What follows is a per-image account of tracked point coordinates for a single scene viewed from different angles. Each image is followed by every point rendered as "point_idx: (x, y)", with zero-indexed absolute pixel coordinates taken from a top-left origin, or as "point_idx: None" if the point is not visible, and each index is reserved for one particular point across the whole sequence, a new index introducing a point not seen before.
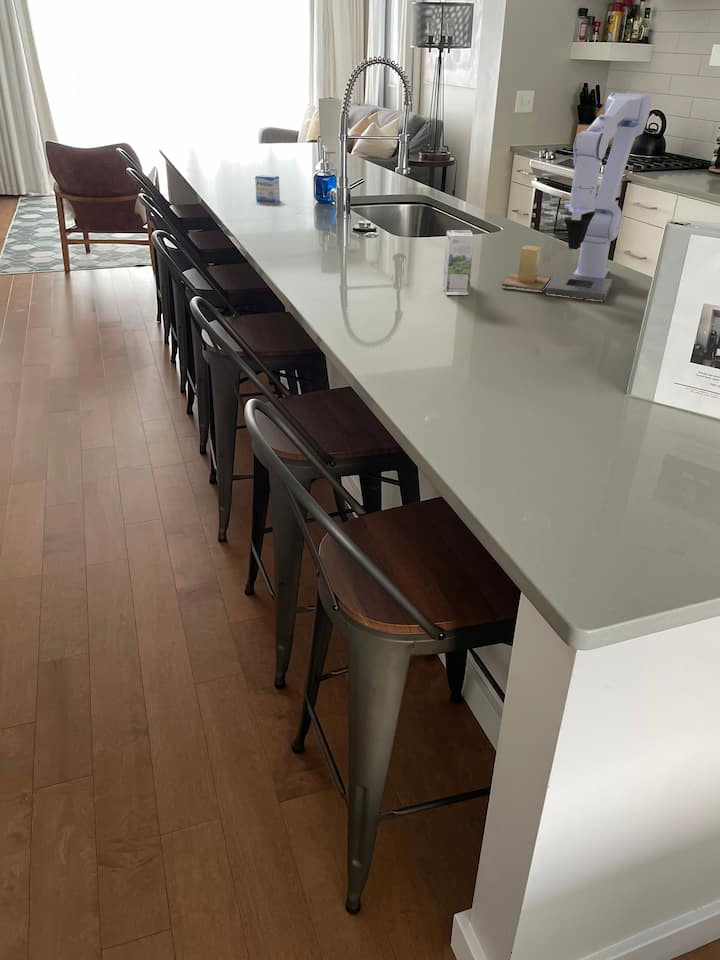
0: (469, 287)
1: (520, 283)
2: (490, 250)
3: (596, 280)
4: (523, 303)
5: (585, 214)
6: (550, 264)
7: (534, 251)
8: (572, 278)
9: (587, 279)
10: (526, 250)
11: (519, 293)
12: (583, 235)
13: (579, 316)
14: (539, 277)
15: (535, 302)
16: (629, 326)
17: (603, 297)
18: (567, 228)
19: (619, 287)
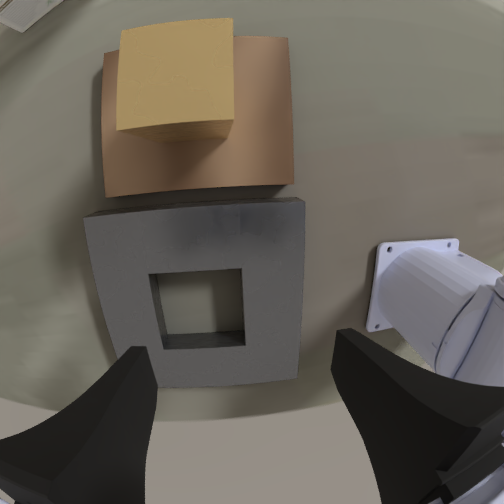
0: (11, 27)
1: None
2: (485, 17)
3: (264, 348)
4: (9, 182)
5: (407, 500)
6: (463, 155)
7: (120, 112)
8: (254, 276)
9: (264, 323)
10: (120, 62)
11: (81, 128)
12: (345, 399)
13: (14, 330)
14: (255, 142)
15: (28, 208)
16: (38, 405)
17: None
18: (39, 425)
19: (300, 376)
